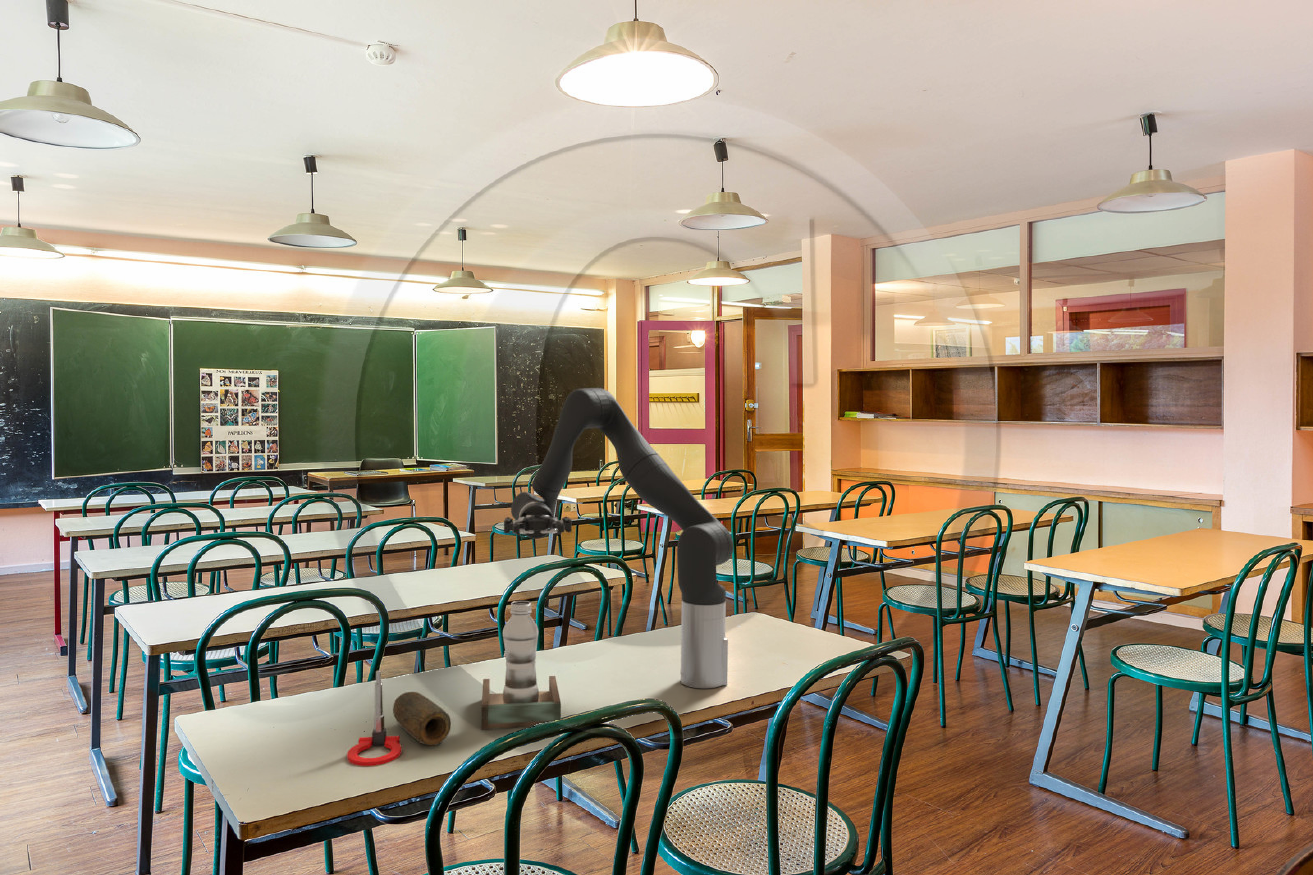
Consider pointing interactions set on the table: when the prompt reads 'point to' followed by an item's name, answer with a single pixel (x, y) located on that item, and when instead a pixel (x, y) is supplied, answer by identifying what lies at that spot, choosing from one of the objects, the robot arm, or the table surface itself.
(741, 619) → the table surface
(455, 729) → the table surface
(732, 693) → the table surface
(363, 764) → the tow hook
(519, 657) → the plastic bottle
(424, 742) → the brown wooden tube
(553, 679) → the bay
